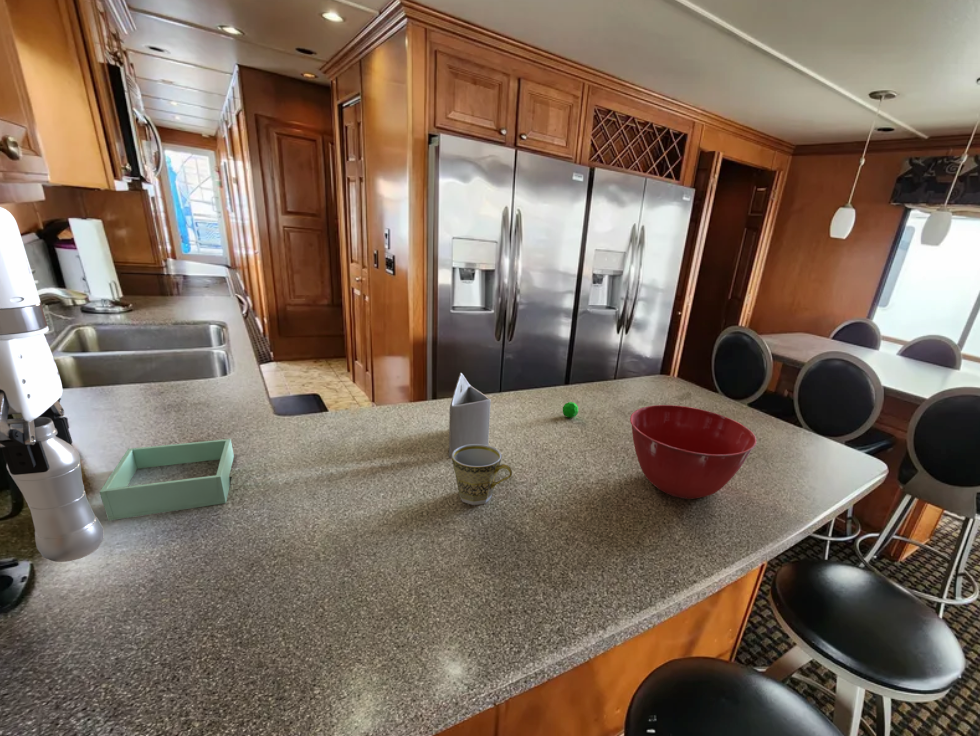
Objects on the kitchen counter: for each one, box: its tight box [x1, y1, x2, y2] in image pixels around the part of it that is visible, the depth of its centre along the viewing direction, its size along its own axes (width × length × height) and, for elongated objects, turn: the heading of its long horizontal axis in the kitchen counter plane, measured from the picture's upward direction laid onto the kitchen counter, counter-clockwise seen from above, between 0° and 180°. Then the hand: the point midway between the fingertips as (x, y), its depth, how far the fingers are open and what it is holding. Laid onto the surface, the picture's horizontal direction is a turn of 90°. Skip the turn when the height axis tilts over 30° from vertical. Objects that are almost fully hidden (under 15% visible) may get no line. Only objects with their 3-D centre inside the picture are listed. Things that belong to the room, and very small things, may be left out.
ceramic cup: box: [451, 444, 513, 506], centre depth 95 cm, size 13×10×10 cm
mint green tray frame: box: [99, 438, 235, 522], centre depth 88 cm, size 17×17×6 cm
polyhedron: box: [562, 401, 579, 419], centre depth 143 cm, size 5×5×5 cm
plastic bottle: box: [6, 417, 105, 563], centre depth 60 cm, size 6×7×20 cm
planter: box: [448, 372, 492, 459], centre depth 115 cm, size 16×8×19 cm, turn 175°
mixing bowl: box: [629, 404, 757, 500], centre depth 108 cm, size 28×28×16 cm
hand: (43, 457), depth 59 cm, fingers closed on plastic bottle, 6 cm apart
